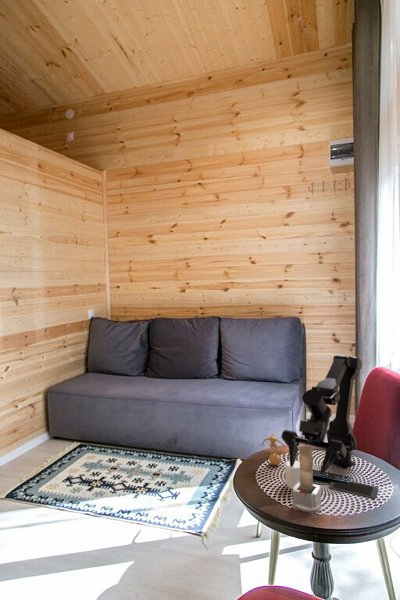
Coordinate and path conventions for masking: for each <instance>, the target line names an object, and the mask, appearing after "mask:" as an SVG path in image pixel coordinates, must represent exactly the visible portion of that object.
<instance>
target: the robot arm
mask: <svg viewBox="0 0 400 600" xmlns="http://www.w3.org/2000/svg"><path fill="white" fill-rule="evenodd" d="M332 358H333V361H332V364H331V366H330V367H329V370H328V372H327V374H326V376H325V378H324V379H323V380H320V381H319V382H318V383H317V384H316V386H313V385H312V386H311V389H308V390H306V391H305V392H304V393H303V395H302V401H303V402H302V403H304V405H305V407H306V409H307V410H308V412H309V413H310V417H309V418H308V419H307V420H306V421H305V420H300V421H299V429H298V432H299V433H300V432H301V434H302V436H299V435H298V433H297V432H296V431H294V430H289V429H285V430H283V431H282V433H281V439H282V440H283V442H284V443H285V444H286V445H287V447H288V450H289V451H288V453H289V460H290V466H291V467H293V465H294V462H295V460H297V459H296V458H297V455H298V452H299V447H300V444H301V445H304V446H309V447H314V448H320V449H323V450H325V454H324V458H323V462H322V465H321V468H320V472H319V474H320V476H323V475H324V474H325V473H326V471H328V469H329V468H330V467H331V466H332V465H335V466H337V467H339V468H342V469H345V470H346V469H348V468H350V467H352V466H354V465H356V461H353V460H352V459H353V458H352V452H353V451H356V450H357V439H356V437H355V435H354V434H353V433H354V432H353V431H354V430H353V427H352V424H351V423H350V413H351V406H352V397H353V390H354V389H353V388H354V381H355V380H356V379H357V378H358V377H359V375H360V371H361V370H362V365H363V363H362V360H361V359H360V358H359V357H358V356H354V355H353V356H352V355H347V354H335V355H334V356H333V357H332ZM328 405H329V406H328ZM330 406H336V411H335V417H334V419H332V420H331V419H330V418H332V415H333V414H332V410H331V408H330ZM325 438H326V439H327V440H326V441H327V442H326V441H325Z"/></svg>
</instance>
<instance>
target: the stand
mask: <svg viewBox="0 0 400 600" xmlns="http://www.w3.org/2000/svg"><path fill="white" fill-rule="evenodd" d="M292 505H293V507H294V508H295V509H296V510H298V511H300V512H303V513H315V512H316V513H317V512H319V511H320V510H321V509H322V490H321V485H318V484H314V483H313V490H312V491H310V492H306V491H304V490H301V489H300V482H298V483H297V484H296V485H295V486H294V487H293V489H292Z"/></svg>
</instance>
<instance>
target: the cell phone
mask: <svg viewBox="0 0 400 600" xmlns="http://www.w3.org/2000/svg"><path fill="white" fill-rule="evenodd" d="M328 489H329V490H334V491H337V492H342V493H344V494H349V495H355V496H358V497H363V498H367V499H371V500H376V498H377V497H378V496H377V495H378V493H379V487H378V486H375V485H374V486H373V485H369V484H364V483H360V482H356V481H355V482H354V481H351V482H350V483H342V482H332V481H331V482H330V484H329V486H328Z"/></svg>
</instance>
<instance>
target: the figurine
mask: <svg viewBox="0 0 400 600" xmlns="http://www.w3.org/2000/svg"><path fill="white" fill-rule="evenodd" d="M265 441H269V447H270V448H271V449H270V452H271V454H270V456H269V458H268V459H269V463H271V465H273V466H278V465H280V463H281V459H282V458H281V456H280V455H279V454H278V453H277V452H278V445H277V443H276V442H278V443H280V444H281V445H282V447H283V448H284V449H286V446H285V444H284V443H283V442H282V441H281V440H279V439H278V438H277V437H276V436H275V434H274V433H271V435H270V436H269V437H267V438H264V439H263V441H262V444H261V445H262V446H263V445H264V444H265ZM273 448H274V449H275V450H274V449H273ZM273 451H275V452H273Z"/></svg>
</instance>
